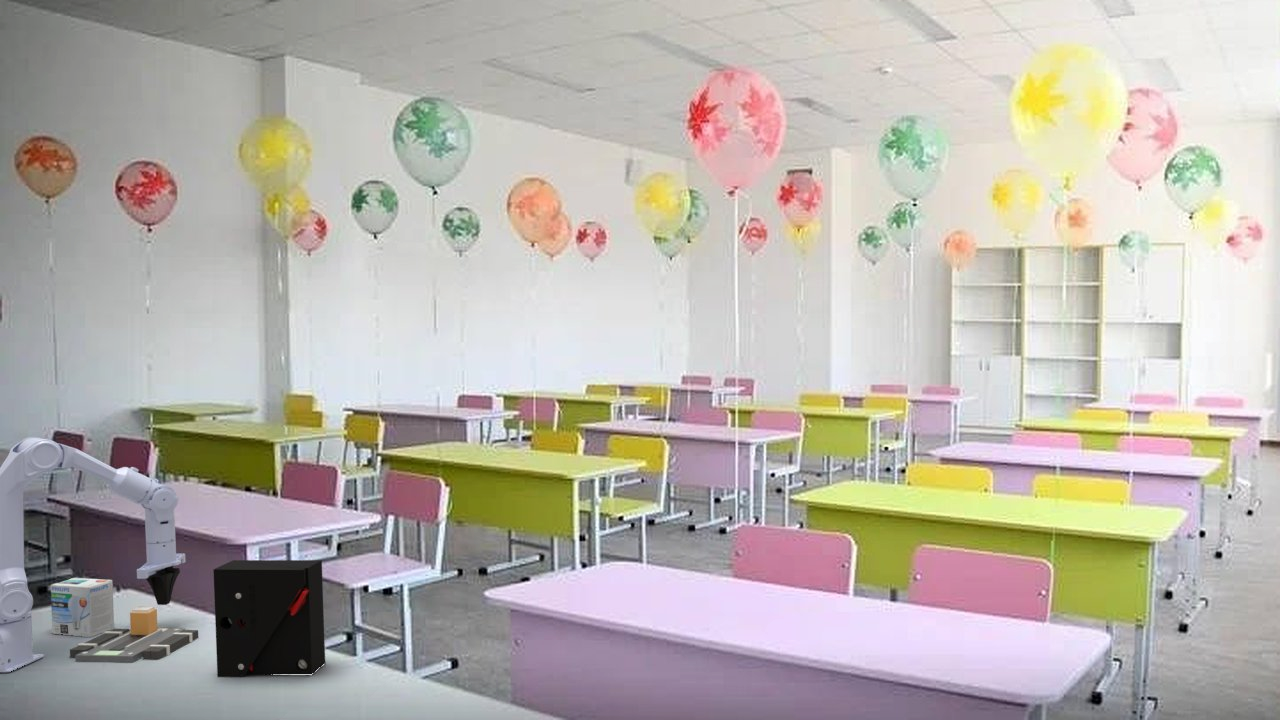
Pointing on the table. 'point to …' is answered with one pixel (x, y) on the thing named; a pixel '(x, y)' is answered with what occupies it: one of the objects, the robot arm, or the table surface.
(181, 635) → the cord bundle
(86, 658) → the breaker panel
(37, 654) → the robot arm
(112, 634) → the cord bundle
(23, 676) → the table surface
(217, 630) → the electrical component
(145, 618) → the breaker knob
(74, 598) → the light bulb box
